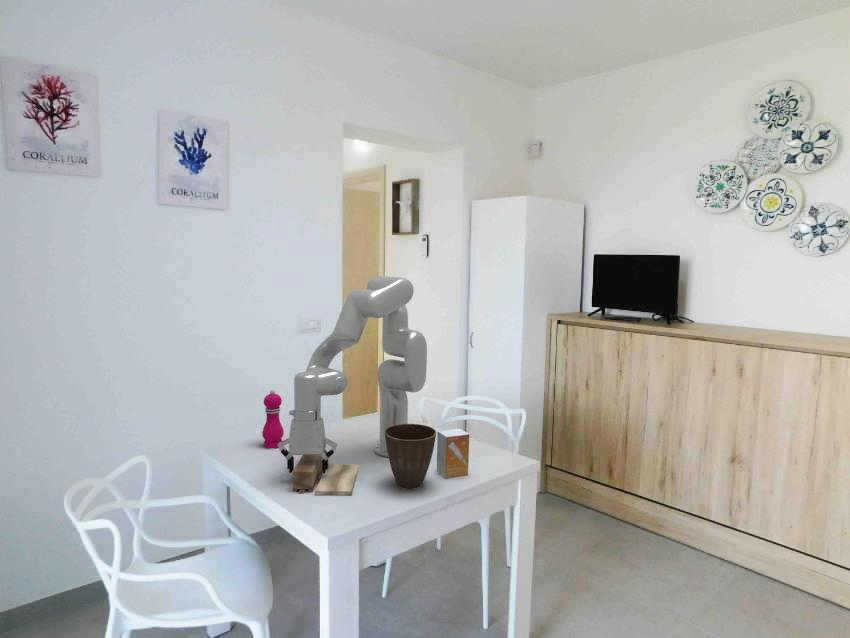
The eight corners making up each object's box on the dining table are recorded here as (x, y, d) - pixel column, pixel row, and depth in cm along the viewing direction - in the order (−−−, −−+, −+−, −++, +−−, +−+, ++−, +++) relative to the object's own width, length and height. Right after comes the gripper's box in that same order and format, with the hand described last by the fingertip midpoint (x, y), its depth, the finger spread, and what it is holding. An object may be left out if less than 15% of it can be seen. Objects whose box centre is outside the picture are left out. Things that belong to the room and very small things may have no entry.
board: (359, 468, 172) (359, 464, 172) (351, 495, 152) (351, 491, 152) (312, 467, 172) (312, 464, 172) (298, 494, 152) (298, 490, 152)
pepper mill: (257, 447, 190) (257, 390, 188) (271, 441, 196) (270, 386, 194) (275, 450, 187) (274, 392, 185) (288, 444, 194) (287, 388, 192)
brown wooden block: (322, 470, 170) (322, 452, 170) (312, 492, 154) (312, 471, 154) (304, 470, 170) (304, 451, 170) (292, 492, 154) (292, 471, 154)
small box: (445, 479, 165) (446, 436, 164) (436, 471, 171) (436, 430, 170) (468, 475, 169) (469, 433, 167) (459, 467, 174) (460, 427, 173)
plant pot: (445, 487, 159) (446, 433, 157) (402, 499, 150) (403, 443, 149) (416, 471, 171) (417, 421, 169) (374, 481, 162) (375, 428, 161)
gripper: (274, 417, 156) (275, 476, 158) (335, 418, 157) (335, 476, 158) (281, 410, 164) (281, 466, 166) (339, 411, 164) (339, 467, 166)
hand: (307, 471), depth 162 cm, fingers open, 9 cm apart
